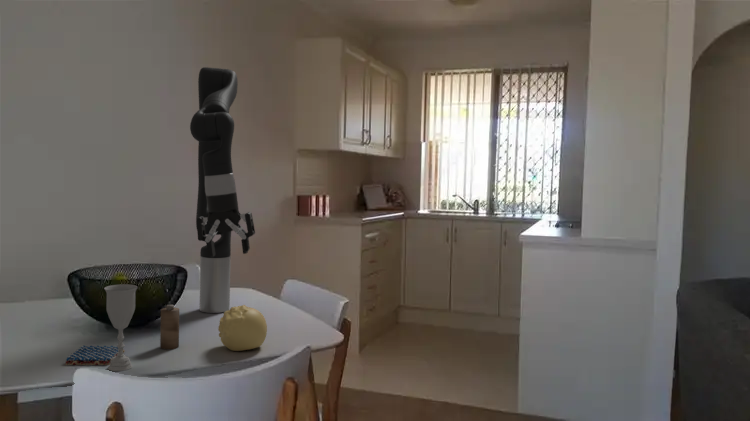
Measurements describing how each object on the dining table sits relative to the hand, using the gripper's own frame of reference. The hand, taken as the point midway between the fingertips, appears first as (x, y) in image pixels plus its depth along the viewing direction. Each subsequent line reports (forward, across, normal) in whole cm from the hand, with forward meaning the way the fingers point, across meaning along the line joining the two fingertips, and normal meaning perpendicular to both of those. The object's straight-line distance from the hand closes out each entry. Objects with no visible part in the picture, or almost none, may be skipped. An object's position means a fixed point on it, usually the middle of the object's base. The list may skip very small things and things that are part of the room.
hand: (229, 254), depth 153 cm
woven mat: (+19, +29, +19) cm, 39 cm away
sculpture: (+23, -2, +6) cm, 24 cm away
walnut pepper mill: (+21, +16, +8) cm, 27 cm away
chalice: (+19, +20, +24) cm, 37 cm away
